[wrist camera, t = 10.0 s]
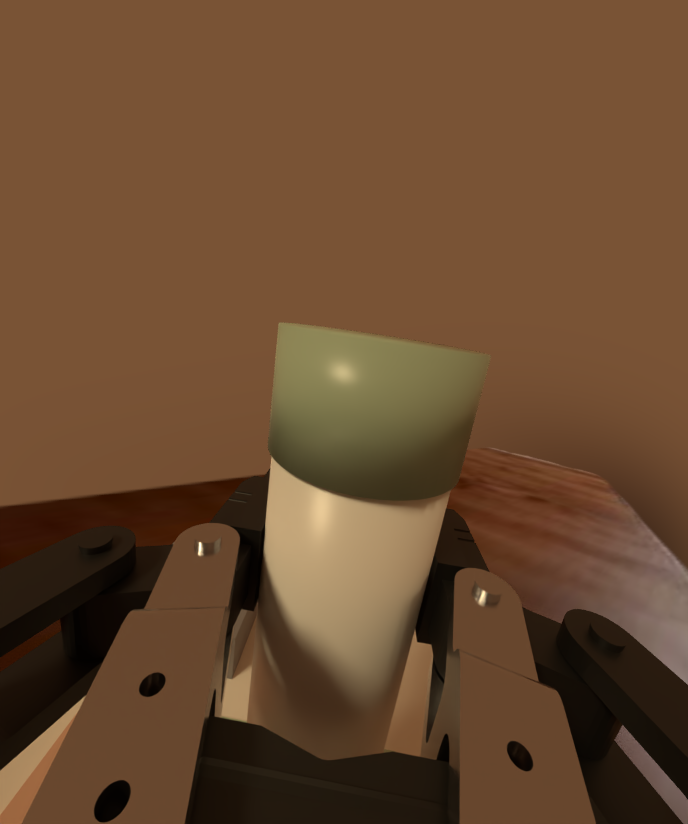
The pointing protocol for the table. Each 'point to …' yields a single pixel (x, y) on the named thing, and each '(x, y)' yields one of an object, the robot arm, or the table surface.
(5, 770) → the cream flat board
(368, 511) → the marker
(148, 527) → the table surface
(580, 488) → the table surface
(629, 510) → the table surface
